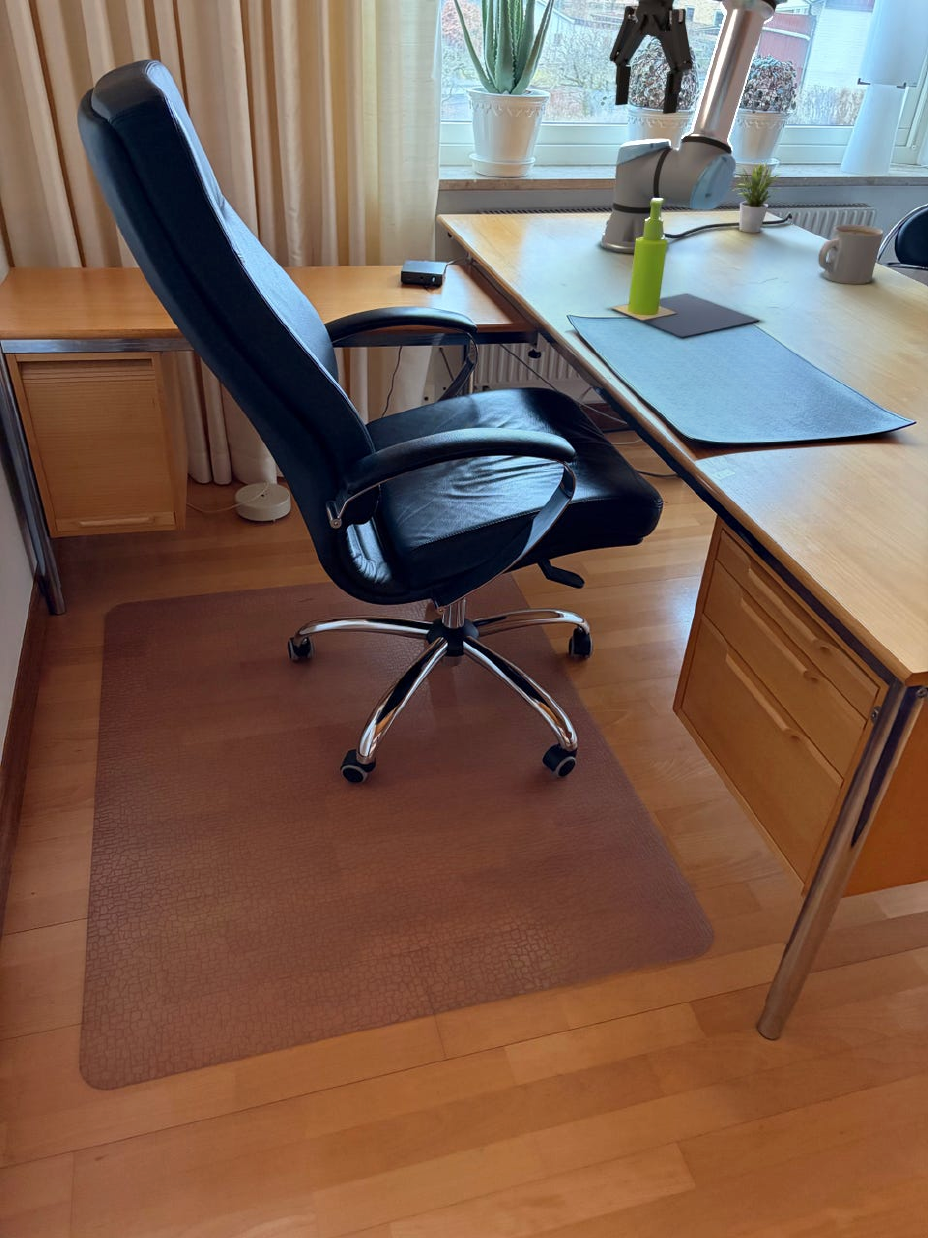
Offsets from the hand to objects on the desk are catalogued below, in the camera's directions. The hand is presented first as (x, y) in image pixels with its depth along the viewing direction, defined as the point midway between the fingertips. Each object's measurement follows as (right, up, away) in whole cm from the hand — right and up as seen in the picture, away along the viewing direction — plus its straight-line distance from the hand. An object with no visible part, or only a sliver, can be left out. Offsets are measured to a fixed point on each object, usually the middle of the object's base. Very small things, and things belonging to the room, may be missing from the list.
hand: (644, 108), depth 177 cm
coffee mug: (+48, -24, +25) cm, 59 cm away
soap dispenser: (0, -38, +2) cm, 38 cm away
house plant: (+39, +3, +62) cm, 74 cm away
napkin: (+8, -40, +1) cm, 41 cm away
